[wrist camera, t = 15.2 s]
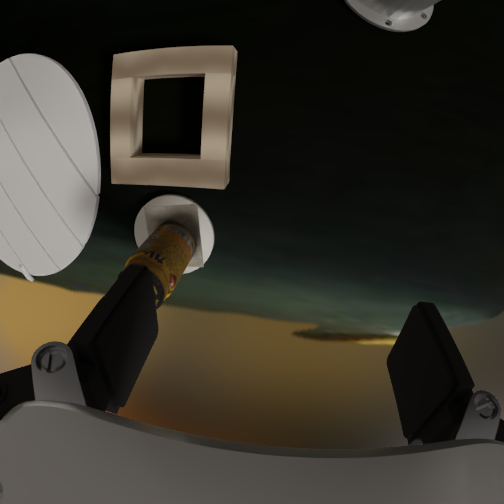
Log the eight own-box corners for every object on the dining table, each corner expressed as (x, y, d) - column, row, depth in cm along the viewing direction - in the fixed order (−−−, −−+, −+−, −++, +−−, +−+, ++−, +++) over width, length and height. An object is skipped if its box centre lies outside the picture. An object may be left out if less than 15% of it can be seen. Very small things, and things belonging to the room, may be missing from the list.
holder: (126, 58, 30) (113, 54, 27) (237, 52, 29) (233, 45, 26) (124, 177, 37) (111, 183, 34) (228, 182, 36) (223, 189, 33)
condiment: (154, 265, 41) (117, 316, 30) (144, 206, 37) (97, 245, 27) (204, 266, 40) (179, 322, 30) (198, 204, 37) (165, 246, 26)
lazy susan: (31, 304, 50) (22, 314, 47) (-53, 166, 38) (-64, 171, 35) (153, 187, 38) (143, 194, 35) (31, 11, 25) (18, 8, 22)
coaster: (134, 192, 38) (131, 194, 37) (215, 196, 37) (214, 199, 36) (140, 265, 42) (138, 268, 42) (214, 274, 42) (212, 278, 41)
